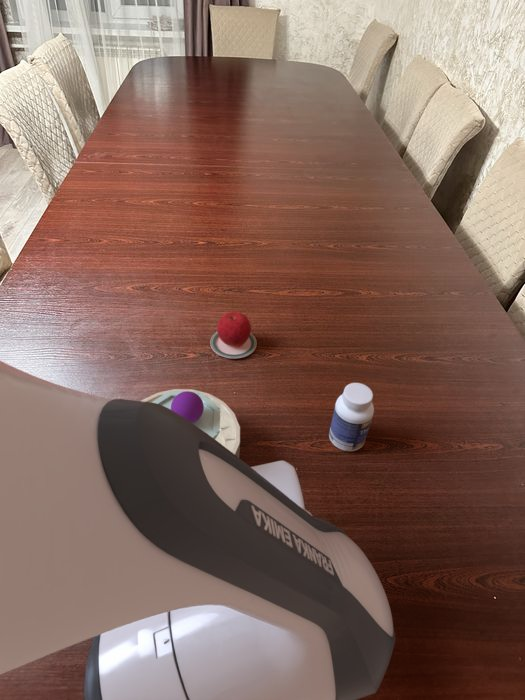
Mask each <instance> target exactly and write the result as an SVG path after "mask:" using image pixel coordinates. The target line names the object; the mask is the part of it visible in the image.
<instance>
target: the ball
mask: <svg viewBox="0 0 525 700" xmlns="http://www.w3.org/2000/svg"><path fill="white" fill-rule="evenodd" d="M171 410H172V411H174V412H176V413H177V414H179V415H180V416H182V417H183V418H185V419H186V420H188V421H189V422H191V423H194V422H196V421H197V420H198V419H199V418H200V417H201V416H202V413H203V410H204V405H203V401H202V399H201V398H200V397H199V396H198V395H197V394H196V393H194V392H190V391H185V392H181V393H179V394H178V395H177V396H176V397H175V398H174V399H173V401H172V404H171Z"/></svg>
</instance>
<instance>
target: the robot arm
mask: <svg viewBox="0 0 525 700" xmlns="http://www.w3.org/2000/svg"><path fill="white" fill-rule="evenodd" d="M297 473H298V472H297V470H296V468H295V467H294V465H292V464H291V463H289V462H288V461H286V460H277V461H272V462H268V463H267V462H266V463H263V464H258V465H254V466H250V465H249V464H248V463H246V462H245V461H243V459H241V458H240V456H239V457H237V456H236V455H235V454H233V453H232V452H231V451H229V450H228V449H227V448H225V447H224V446H223V445H222V444H220V443H219V442H218V441H216V440H215V439H214V438H212V437H211V436H210V435H208V434H207V433H205V432H204V431H203V430H201V429H200V428H198V427H197V426H195V425H194V424H192V423H191V422H189V421H188V420H186V419H185V418H183V417H182V416H180V415H179V414H177V413H176V412H174V411H172V410H170V409H168V408H167V407H164V406H162V405H160V404H156V403H152V402H142V401H141V400H133V399H126V398H125V399H124V398H113V399H111V398H107V397H103V396H99V395H96V394H91V393H87V392H83V391H80V390H77V389H72V388H69V387H66V386H63V385H60V384H57V383H54V382H52V381H48V380H46V379H43V378H40V377H38V376H36V375H33V374H30V373H28V372H25V371H24V370H21V369H20V368H17V367H15V366H12V365H10V364H8V363H6V362H4V361H2V360H0V676H1V675H4V674H7V673H9V672H10V671H13V670H16V669H18V668H21V667H23V666H26V665H27V664H31V663H33V662H35V661H38V660H40V659H42V658H45V657H47V656H50V655H53V654H54V653H57V652H60V651H63V650H65V649H67V648H69V647H72V646H74V645H77V644H79V643H82V642H84V641H87V640H89V639H92V642H91V645H90V646H89V647H90V648H89V651H88V655H87V660H86V665H85V670H84V680H83V681H84V682H83V684H84V685H83V689H84V690H83V691H84V693H83V694H84V700H360V699H362V698H367V697H369V696H371V695H373V694H377V692H378V690H379V688H380V686H381V684H382V682H383V679H384V677H385V675H386V672H387V669H388V666H389V664H390V661H391V658H392V655H393V651H394V648H395V643H396V633H395V628H394V622H393V615H392V610H391V607H390V603H389V600H388V597H387V594H386V591H385V589H384V587H383V584H382V582H381V580H380V577H379V575H378V573H377V572H376V570H375V568H374V566H373V565H372V563H371V560H369V559H368V557H367V556H366V554H365V553H364V551H363V550H362V549H361V548H360V547H359V545H357V543H356V542H354V540H352V539H351V538H350V537H349V535H348V534H347V533H346V532H345V531H344V530H343V529H342V528H341V527H339V526H337V525H335V524H333V523H331V522H329V521H327V520H324V519H322V518H319V517H316V516H313V514H312V513H311V512H310V511H308V510H307V509H306V507H305V500H304V496H303V491H302V487H301V483H300V480H299V476H298V474H297Z"/></svg>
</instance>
